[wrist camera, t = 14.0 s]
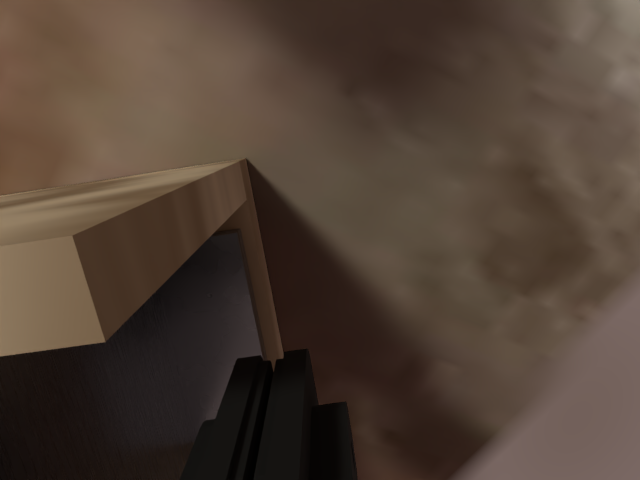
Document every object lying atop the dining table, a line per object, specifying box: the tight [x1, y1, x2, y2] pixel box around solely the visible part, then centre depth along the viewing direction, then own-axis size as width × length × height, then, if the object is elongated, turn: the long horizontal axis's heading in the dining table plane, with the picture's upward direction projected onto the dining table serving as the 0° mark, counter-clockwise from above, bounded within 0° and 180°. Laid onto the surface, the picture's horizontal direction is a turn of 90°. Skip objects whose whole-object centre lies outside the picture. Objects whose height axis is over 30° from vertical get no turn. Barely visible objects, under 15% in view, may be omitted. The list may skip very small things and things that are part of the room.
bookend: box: [0, 228, 267, 480], centre depth 10 cm, size 4×7×9 cm, turn 9°
